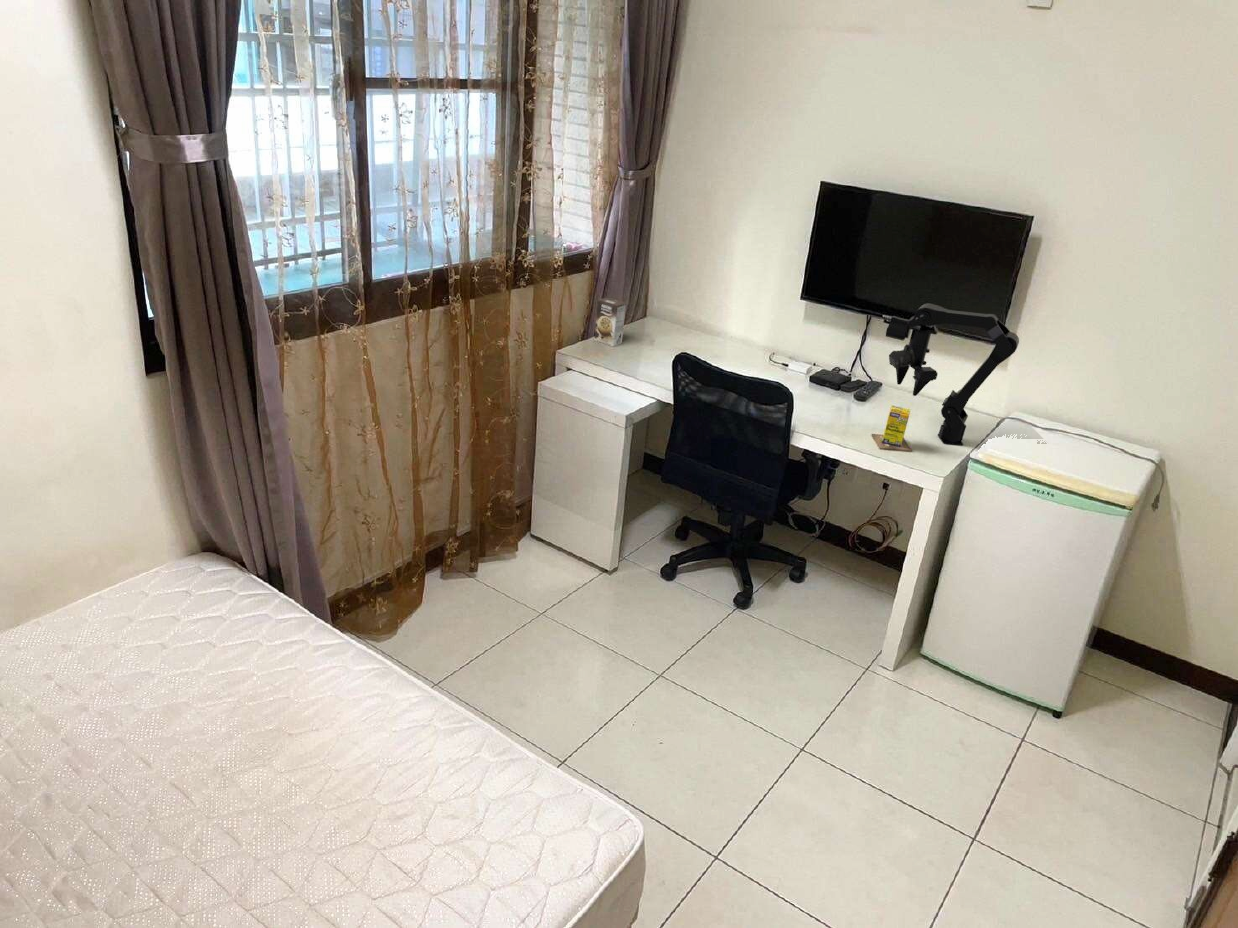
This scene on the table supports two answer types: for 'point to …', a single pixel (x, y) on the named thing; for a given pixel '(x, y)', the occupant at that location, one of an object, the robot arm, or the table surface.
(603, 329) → the coffee box
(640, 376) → the table surface
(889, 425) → the supplement box
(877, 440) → the pad
